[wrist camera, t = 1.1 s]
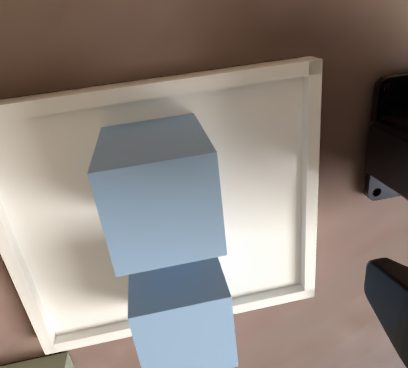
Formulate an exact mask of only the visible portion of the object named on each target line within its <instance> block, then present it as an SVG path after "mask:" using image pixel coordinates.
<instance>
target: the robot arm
mask: <svg viewBox="0 0 408 368" xmlns="http://www.w3.org/2000/svg"><path fill="white" fill-rule="evenodd" d="M388 83H389V87H388V89H387V91H385V92H384V88H385V86H386V85H387V84H388ZM365 171H366V176H365V186H364V194H365V195H366V196H367V197H368V198H369V199H371V200H381V199H386V198H391V197H396V196H402V197H404V198H405V199H406V200H408V73H402V74H396V75H389V76H384V77H381V78H380V79H379V80H378V81H377V82H376V84H375V87H374V95H373V105H372V115H371V124H370V125H369V132H368V142H367V152H366V163H365ZM376 188H377V190H376V191H375V192H374V193H373V191H374V190H375V189H376ZM364 291H365V294H366V297H367V299H368V301H369V303H370V304H371V306H372V308H373V310H374V312H375V314H376V315H377V317H378V319H379V321H380V323H381V324H382V326H383V328H384V330H385V332H386V334H387V335H388V337H389V339H390V341H391V343H392V344H393V346H394V348H395V350H396V351H397V353H398V355H399V357H400V358H401V360H402V361H403V363H404V364H405V366H406V367H407V368H408V267H407V266H404V265H402V264H400V263H397V262H395V261H393V260H391V259H388V258H379V259H374V260H370V261H369V262H368V263H367V266H366V274H365V283H364Z"/></svg>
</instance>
